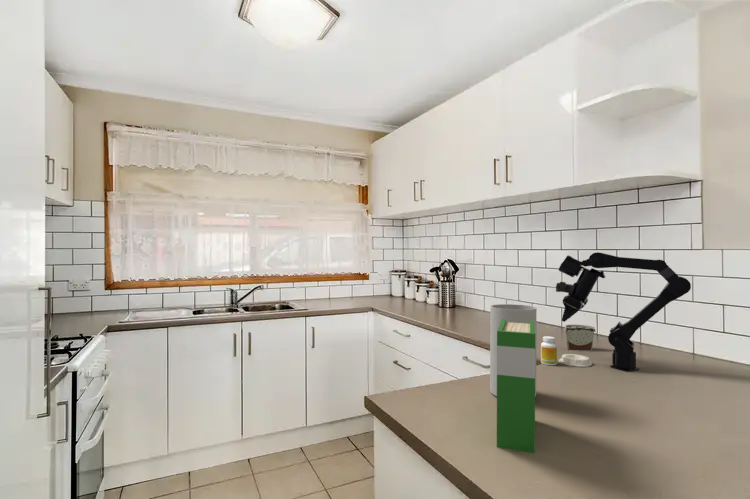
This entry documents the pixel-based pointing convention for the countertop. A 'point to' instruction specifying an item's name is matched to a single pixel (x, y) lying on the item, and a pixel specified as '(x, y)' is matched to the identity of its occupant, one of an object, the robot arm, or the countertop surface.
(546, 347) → the supplement bottle
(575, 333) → the food container
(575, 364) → the holder ring
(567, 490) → the countertop surface
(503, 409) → the hardback book
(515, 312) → the cylinder vase
